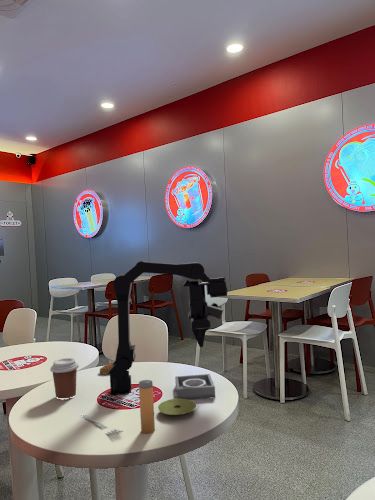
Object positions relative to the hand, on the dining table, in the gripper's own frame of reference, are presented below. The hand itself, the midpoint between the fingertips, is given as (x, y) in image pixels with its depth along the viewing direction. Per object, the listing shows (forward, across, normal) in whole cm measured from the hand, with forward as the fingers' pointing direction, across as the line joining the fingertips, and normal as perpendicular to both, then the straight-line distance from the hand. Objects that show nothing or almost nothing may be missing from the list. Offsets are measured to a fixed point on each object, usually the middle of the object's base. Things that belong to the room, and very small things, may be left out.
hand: (200, 343), depth 132 cm
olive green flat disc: (+15, -20, +9) cm, 26 cm away
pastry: (+15, +22, +34) cm, 43 cm away
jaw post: (+14, -30, +18) cm, 37 cm away
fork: (+15, -23, +33) cm, 43 cm away
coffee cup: (+14, -2, +46) cm, 48 cm away
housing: (+14, -5, +3) cm, 16 cm away
